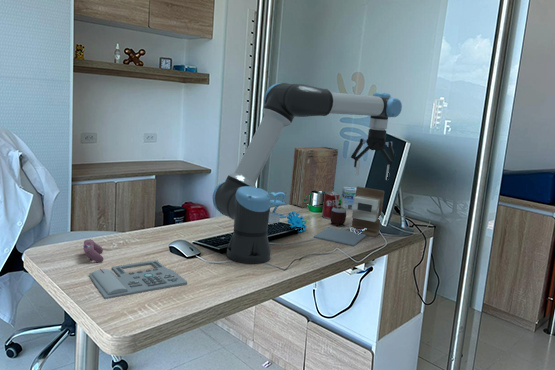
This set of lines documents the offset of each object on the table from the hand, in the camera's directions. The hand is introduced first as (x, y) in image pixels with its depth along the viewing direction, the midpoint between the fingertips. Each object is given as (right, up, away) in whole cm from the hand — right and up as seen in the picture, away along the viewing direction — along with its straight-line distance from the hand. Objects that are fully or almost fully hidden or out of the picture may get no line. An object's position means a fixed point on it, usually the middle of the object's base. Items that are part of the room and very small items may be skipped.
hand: (371, 177), depth 209 cm
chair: (-43, -18, +13) cm, 48 cm away
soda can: (-17, -19, +20) cm, 32 cm away
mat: (-15, -25, -11) cm, 31 cm away
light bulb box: (-2, -16, +45) cm, 48 cm away
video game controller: (-100, -27, -59) cm, 119 cm away
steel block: (-44, -20, +2) cm, 48 cm away
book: (-23, -14, +46) cm, 53 cm away
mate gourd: (-15, -22, +8) cm, 27 cm away
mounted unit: (-4, -24, -1) cm, 24 cm away
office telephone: (-83, -31, -72) cm, 114 cm away
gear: (-33, -23, -7) cm, 41 cm away
